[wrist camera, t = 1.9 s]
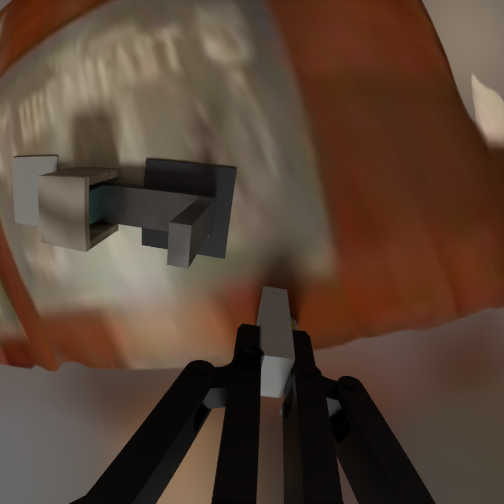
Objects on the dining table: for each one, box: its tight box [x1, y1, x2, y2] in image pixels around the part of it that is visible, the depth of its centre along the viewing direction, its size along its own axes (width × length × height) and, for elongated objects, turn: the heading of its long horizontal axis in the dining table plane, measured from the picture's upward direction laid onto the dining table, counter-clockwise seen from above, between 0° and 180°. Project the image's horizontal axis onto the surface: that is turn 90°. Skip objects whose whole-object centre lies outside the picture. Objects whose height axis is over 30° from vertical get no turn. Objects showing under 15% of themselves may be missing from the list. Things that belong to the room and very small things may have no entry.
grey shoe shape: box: [142, 159, 237, 258], centre depth 36 cm, size 12×12×1 cm
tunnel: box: [38, 167, 120, 252], centre depth 32 cm, size 9×8×9 cm
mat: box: [13, 156, 58, 227], centre depth 36 cm, size 12×12×1 cm
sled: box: [89, 182, 216, 268], centre depth 30 cm, size 5×26×12 cm, turn 81°
